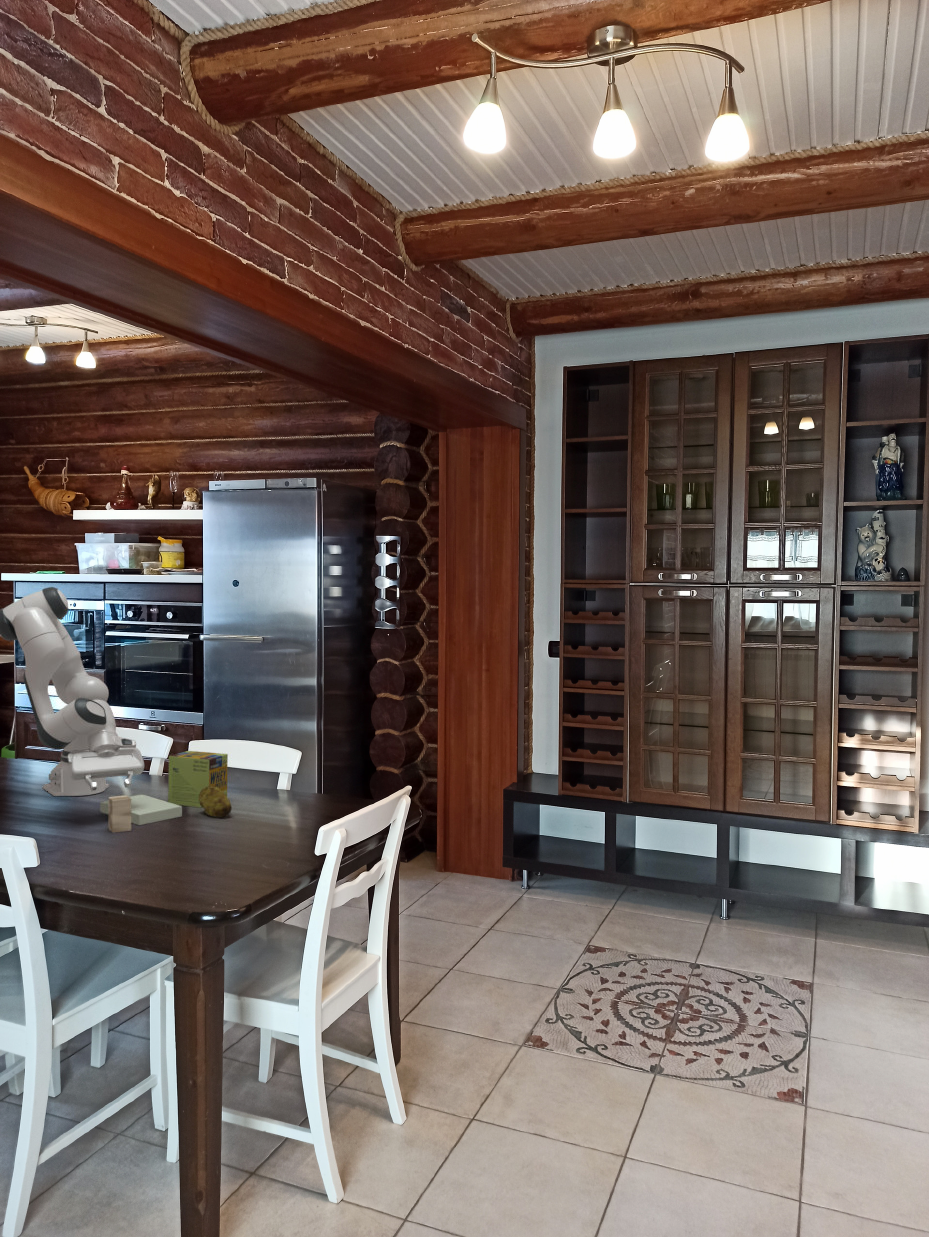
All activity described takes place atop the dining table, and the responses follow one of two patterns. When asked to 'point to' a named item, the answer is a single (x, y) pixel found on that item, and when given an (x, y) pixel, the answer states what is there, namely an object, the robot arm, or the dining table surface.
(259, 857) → the dining table surface
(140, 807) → the green board
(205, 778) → the protein box
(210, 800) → the potato
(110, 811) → the birch block
